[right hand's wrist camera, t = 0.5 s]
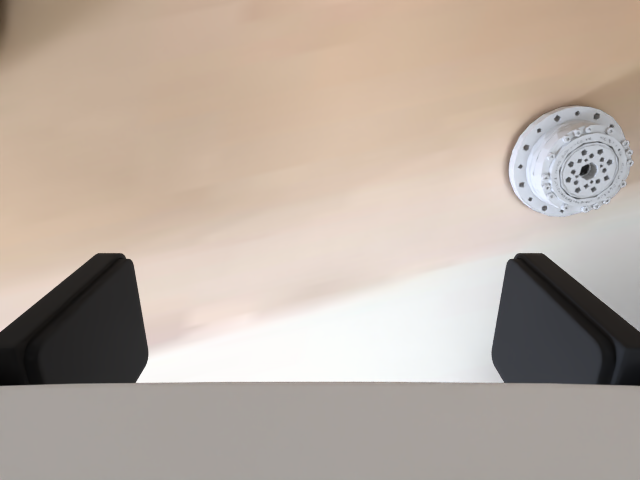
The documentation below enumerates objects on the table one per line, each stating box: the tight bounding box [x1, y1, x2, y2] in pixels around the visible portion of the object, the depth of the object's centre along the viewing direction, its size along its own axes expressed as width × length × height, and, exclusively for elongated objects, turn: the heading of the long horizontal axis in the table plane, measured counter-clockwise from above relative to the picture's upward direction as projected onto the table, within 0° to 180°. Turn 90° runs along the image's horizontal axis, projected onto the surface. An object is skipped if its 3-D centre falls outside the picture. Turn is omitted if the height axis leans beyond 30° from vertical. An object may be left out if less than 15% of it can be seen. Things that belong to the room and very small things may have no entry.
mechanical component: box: [509, 105, 634, 217], centre depth 38 cm, size 10×4×10 cm
